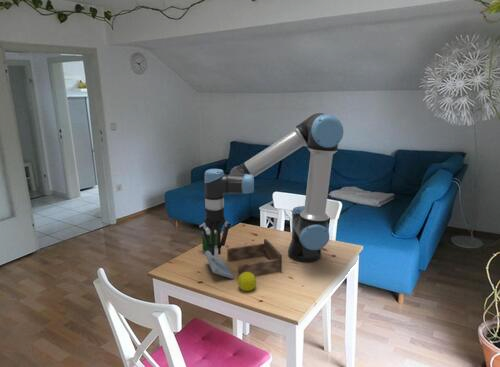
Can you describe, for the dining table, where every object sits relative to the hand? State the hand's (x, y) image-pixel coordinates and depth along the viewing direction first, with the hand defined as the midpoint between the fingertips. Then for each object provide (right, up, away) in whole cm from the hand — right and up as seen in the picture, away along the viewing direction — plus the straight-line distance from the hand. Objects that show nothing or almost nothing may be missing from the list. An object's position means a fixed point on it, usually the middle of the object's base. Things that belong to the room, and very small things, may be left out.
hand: (215, 261), depth 153 cm
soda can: (-4, 0, +21) cm, 22 cm away
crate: (+16, -3, +6) cm, 17 cm away
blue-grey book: (+5, -3, +2) cm, 6 cm away
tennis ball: (+13, -8, -12) cm, 20 cm away
